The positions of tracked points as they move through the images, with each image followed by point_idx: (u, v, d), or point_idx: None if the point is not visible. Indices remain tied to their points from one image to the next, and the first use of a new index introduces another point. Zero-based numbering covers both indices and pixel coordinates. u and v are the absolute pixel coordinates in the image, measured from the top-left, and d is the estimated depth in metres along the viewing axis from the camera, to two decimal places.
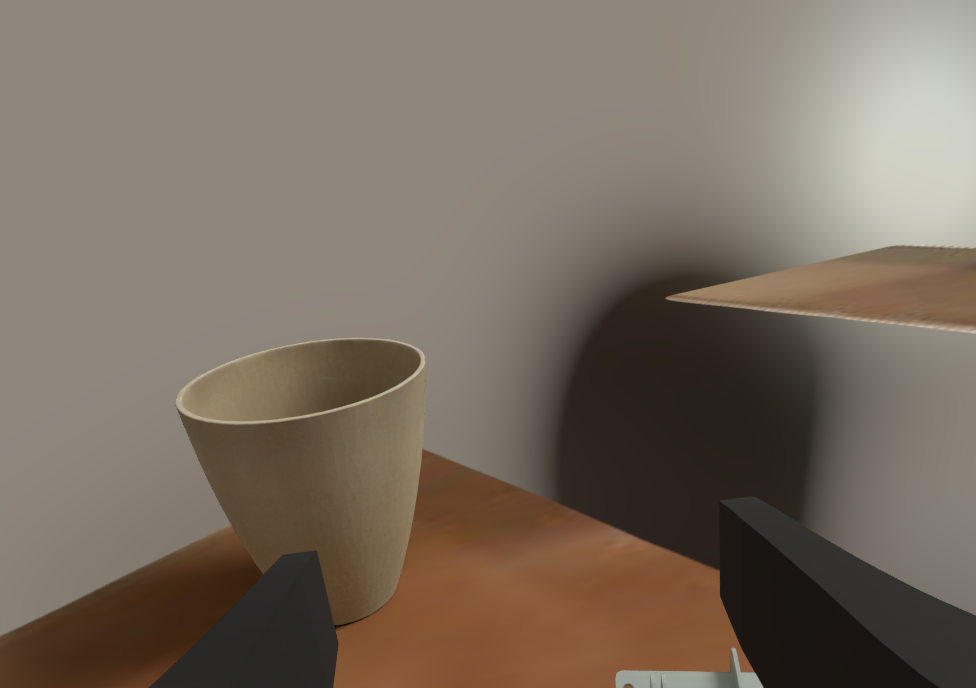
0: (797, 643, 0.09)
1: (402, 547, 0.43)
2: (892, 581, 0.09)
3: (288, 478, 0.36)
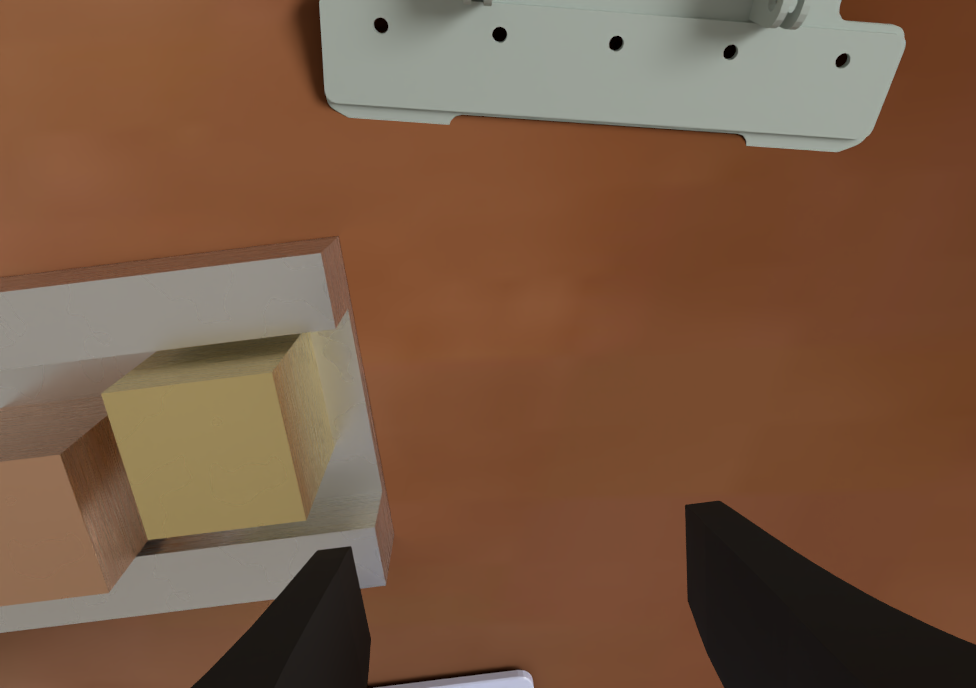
0: (755, 648, 0.09)
1: None
2: (845, 587, 0.09)
3: None
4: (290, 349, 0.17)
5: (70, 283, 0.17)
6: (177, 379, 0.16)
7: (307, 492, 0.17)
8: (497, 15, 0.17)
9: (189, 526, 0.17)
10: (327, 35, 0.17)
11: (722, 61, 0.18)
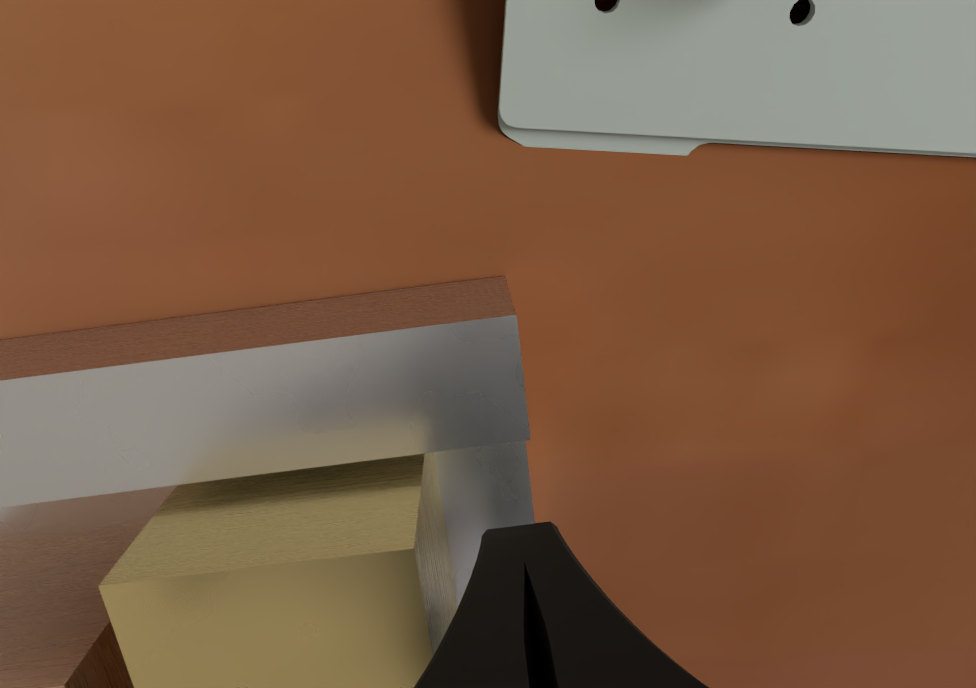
0: (546, 674, 0.09)
1: None
2: (613, 615, 0.09)
3: None
4: (421, 479, 0.10)
5: (81, 369, 0.10)
6: (237, 554, 0.09)
7: None
8: None
9: None
10: (513, 17, 0.10)
11: None
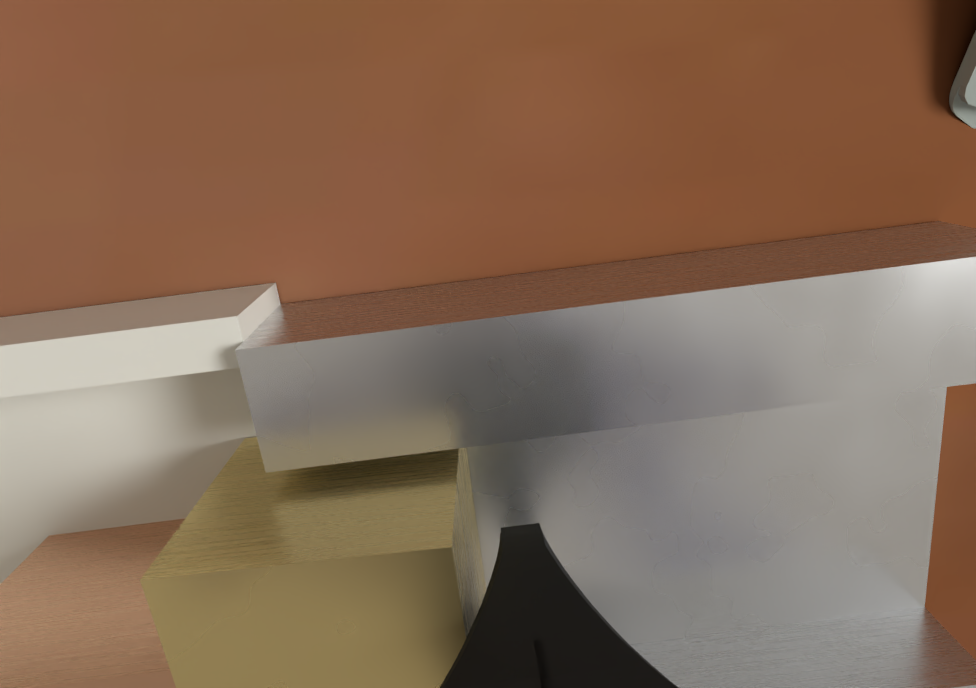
0: None
1: None
2: (592, 618, 0.09)
3: None
4: (457, 478, 0.10)
5: (623, 300, 0.10)
6: (275, 550, 0.09)
7: None
8: None
9: None
10: None
11: None
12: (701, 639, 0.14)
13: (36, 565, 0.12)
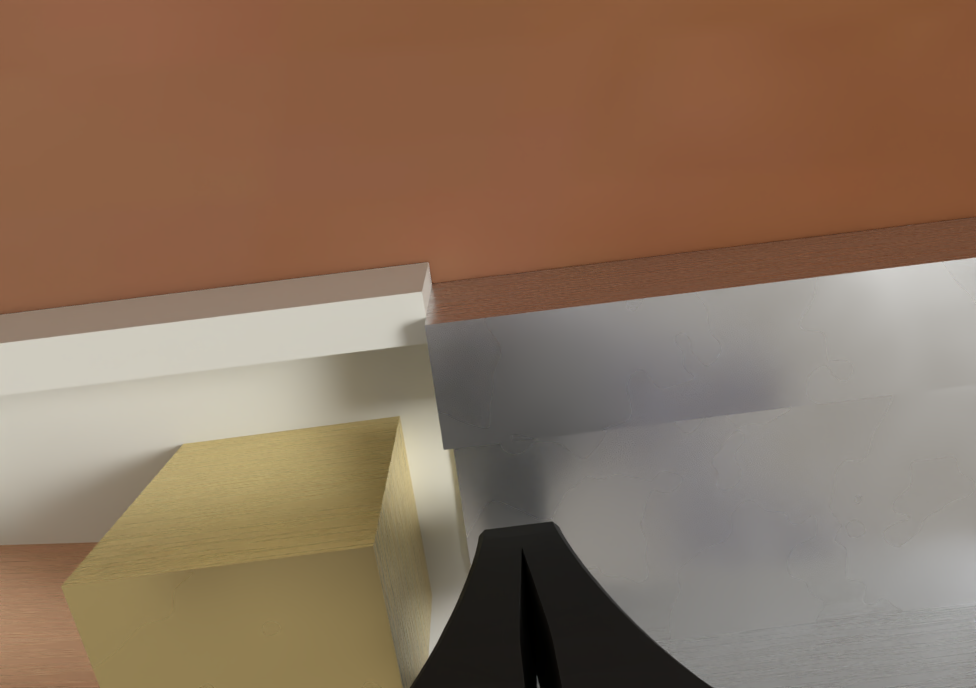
0: (548, 673, 0.09)
1: None
2: (616, 615, 0.09)
3: None
4: (388, 478, 0.10)
5: (814, 276, 0.10)
6: (200, 553, 0.09)
7: None
8: None
9: None
10: None
11: None
12: (833, 623, 0.14)
13: None
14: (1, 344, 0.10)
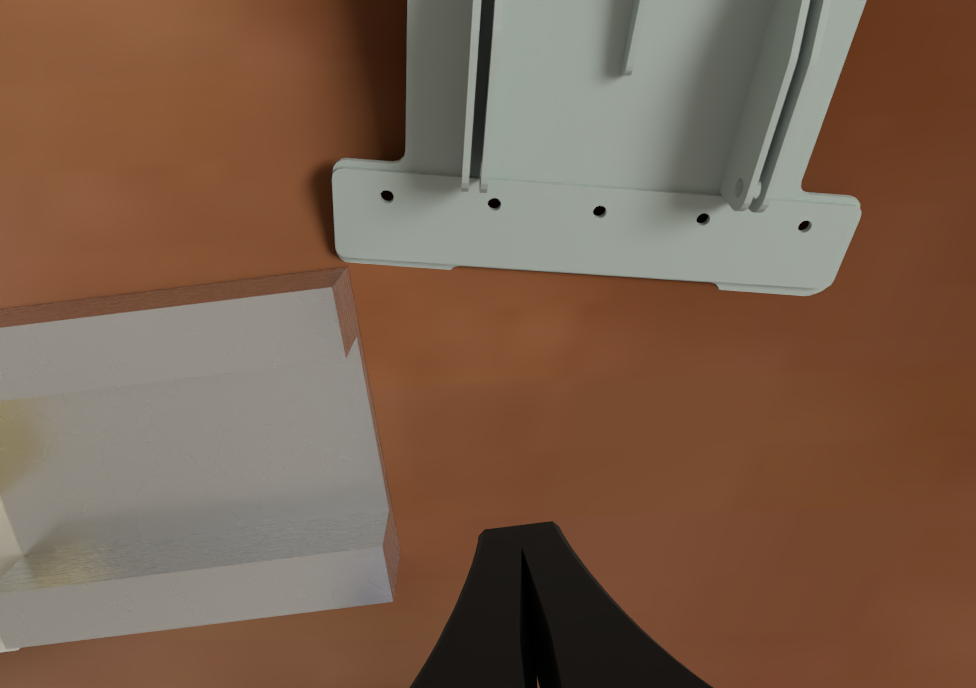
0: (548, 673, 0.09)
1: None
2: (616, 614, 0.09)
3: None
4: None
5: (92, 316, 0.18)
6: None
7: None
8: (493, 188, 0.19)
9: None
10: (339, 202, 0.19)
11: (695, 226, 0.19)
12: (244, 529, 0.22)
13: None
14: None
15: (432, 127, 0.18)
